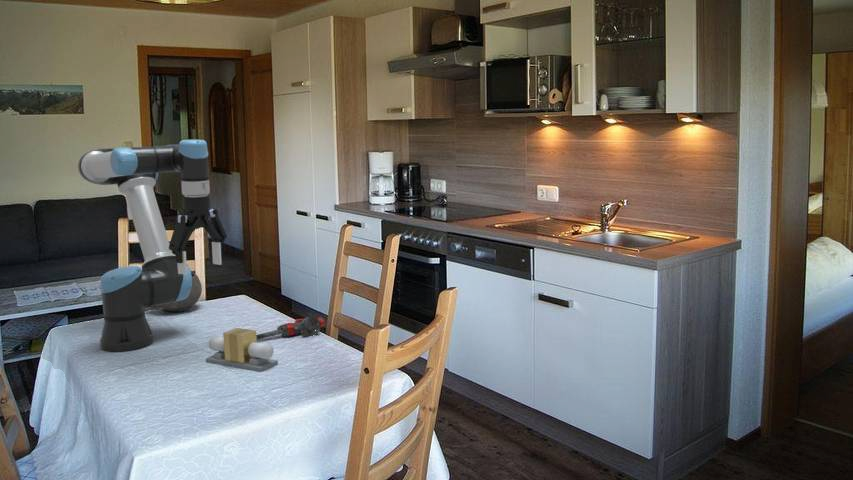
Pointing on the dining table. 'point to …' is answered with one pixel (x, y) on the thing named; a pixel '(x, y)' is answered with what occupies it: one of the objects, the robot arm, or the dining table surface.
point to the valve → (297, 328)
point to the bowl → (187, 302)
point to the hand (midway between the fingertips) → (200, 269)
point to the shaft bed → (245, 366)
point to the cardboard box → (238, 345)
